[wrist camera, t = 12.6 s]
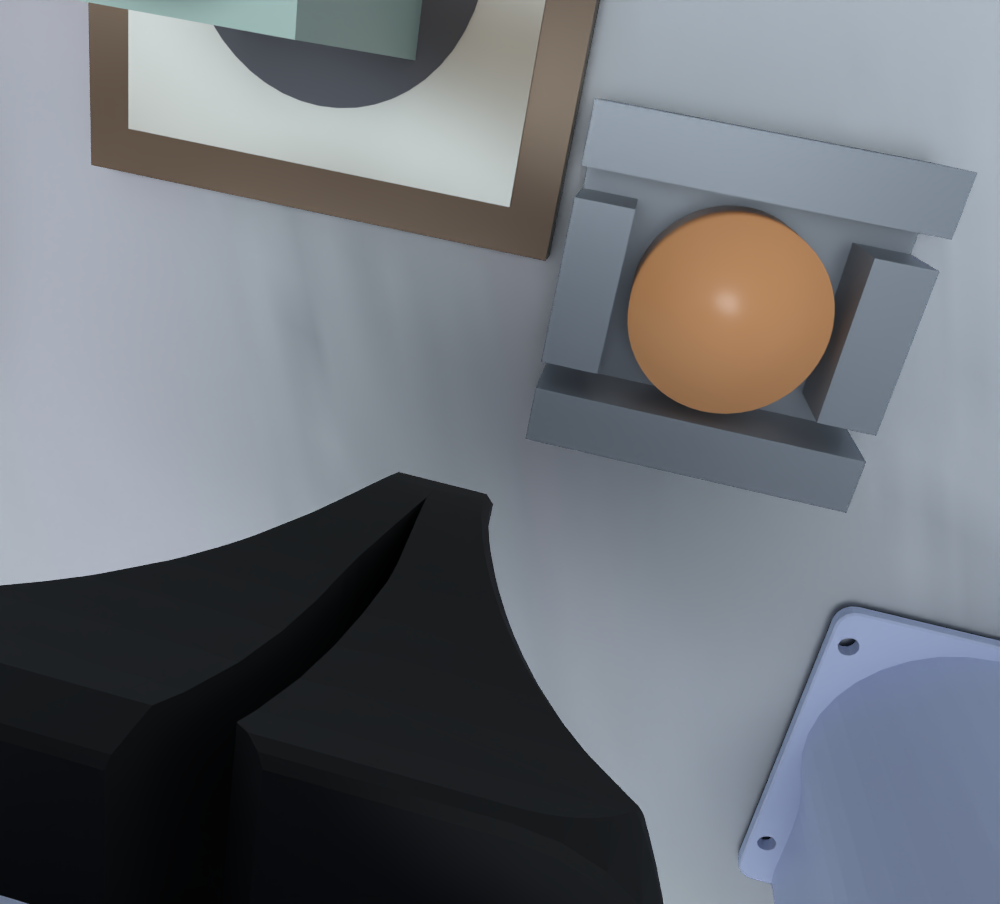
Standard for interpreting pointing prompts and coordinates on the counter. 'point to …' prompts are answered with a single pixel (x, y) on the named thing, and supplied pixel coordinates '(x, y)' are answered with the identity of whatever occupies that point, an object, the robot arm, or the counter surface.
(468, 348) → the counter surface
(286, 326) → the counter surface
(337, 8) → the green square bottle
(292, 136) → the drawing board
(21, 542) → the counter surface
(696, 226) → the button
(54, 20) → the counter surface
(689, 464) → the button housing
